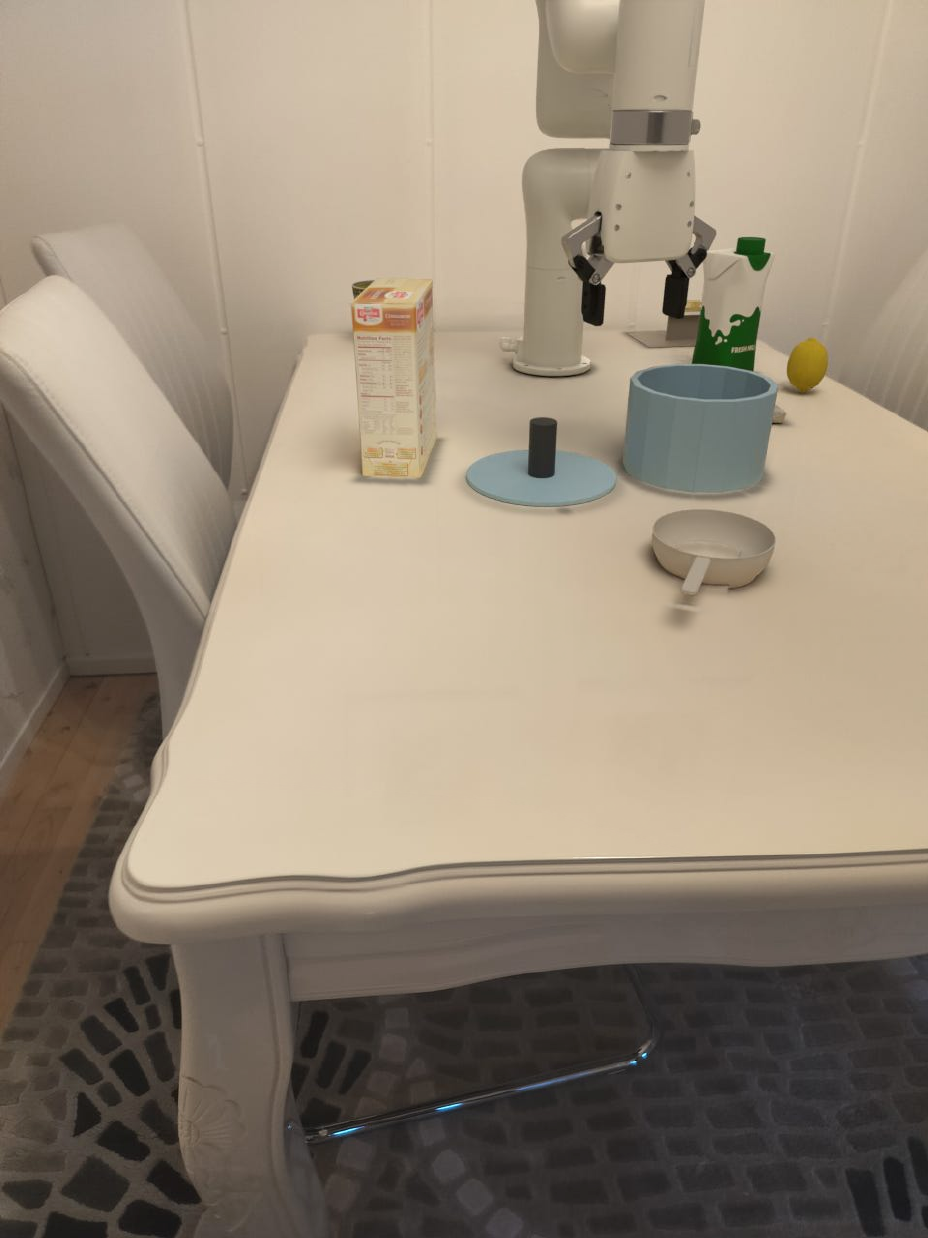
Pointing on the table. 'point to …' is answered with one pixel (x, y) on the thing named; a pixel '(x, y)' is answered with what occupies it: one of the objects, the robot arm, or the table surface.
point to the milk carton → (732, 304)
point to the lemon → (807, 364)
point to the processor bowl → (698, 427)
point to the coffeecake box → (395, 375)
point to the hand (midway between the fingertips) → (633, 319)
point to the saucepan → (712, 529)
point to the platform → (675, 330)
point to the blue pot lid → (541, 472)
